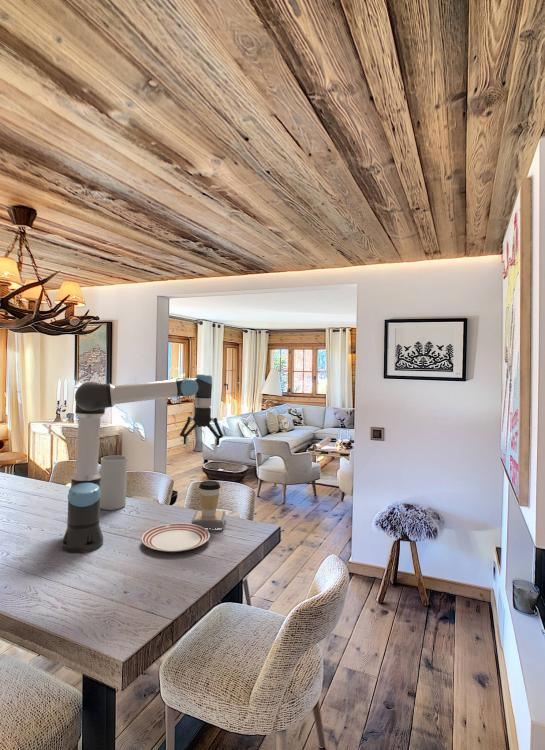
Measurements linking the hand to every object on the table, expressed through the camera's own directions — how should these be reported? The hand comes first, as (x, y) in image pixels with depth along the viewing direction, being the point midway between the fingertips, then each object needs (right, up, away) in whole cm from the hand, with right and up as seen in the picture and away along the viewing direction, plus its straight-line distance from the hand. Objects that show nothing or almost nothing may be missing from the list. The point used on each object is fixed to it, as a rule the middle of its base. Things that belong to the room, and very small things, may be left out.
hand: (201, 451), depth 196 cm
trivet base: (+4, -33, -4) cm, 34 cm away
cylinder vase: (-48, -31, +17) cm, 60 cm away
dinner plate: (-6, -33, -25) cm, 42 cm away
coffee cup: (+4, -29, -4) cm, 30 cm away
